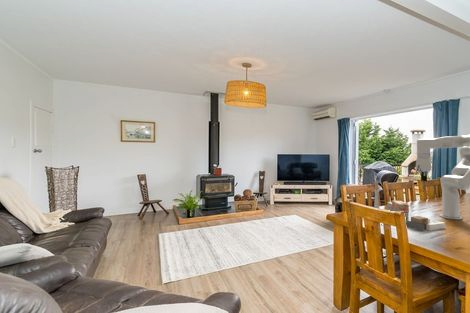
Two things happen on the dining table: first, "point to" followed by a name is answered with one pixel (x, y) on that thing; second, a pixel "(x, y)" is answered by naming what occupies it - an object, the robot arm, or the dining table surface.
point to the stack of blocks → (399, 207)
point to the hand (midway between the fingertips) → (424, 181)
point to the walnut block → (420, 220)
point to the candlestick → (376, 195)
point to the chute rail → (435, 226)
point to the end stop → (415, 225)
